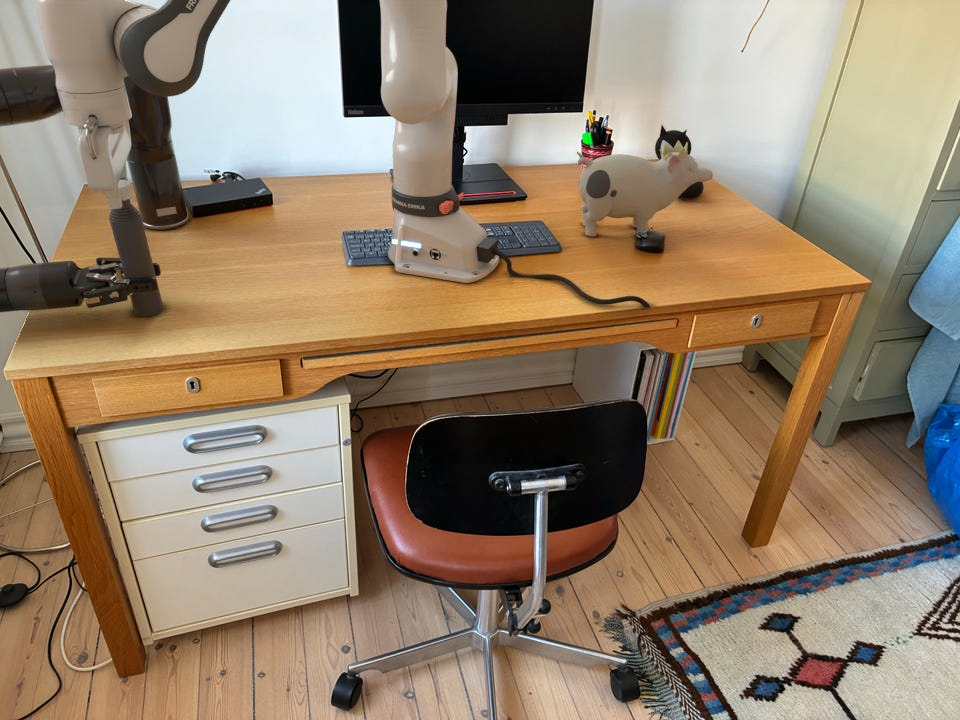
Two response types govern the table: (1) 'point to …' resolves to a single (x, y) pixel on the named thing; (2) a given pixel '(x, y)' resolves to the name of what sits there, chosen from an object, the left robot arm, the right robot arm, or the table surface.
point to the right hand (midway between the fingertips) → (120, 197)
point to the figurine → (635, 185)
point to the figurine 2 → (672, 139)
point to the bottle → (135, 256)
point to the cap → (125, 189)
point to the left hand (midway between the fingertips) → (157, 276)
